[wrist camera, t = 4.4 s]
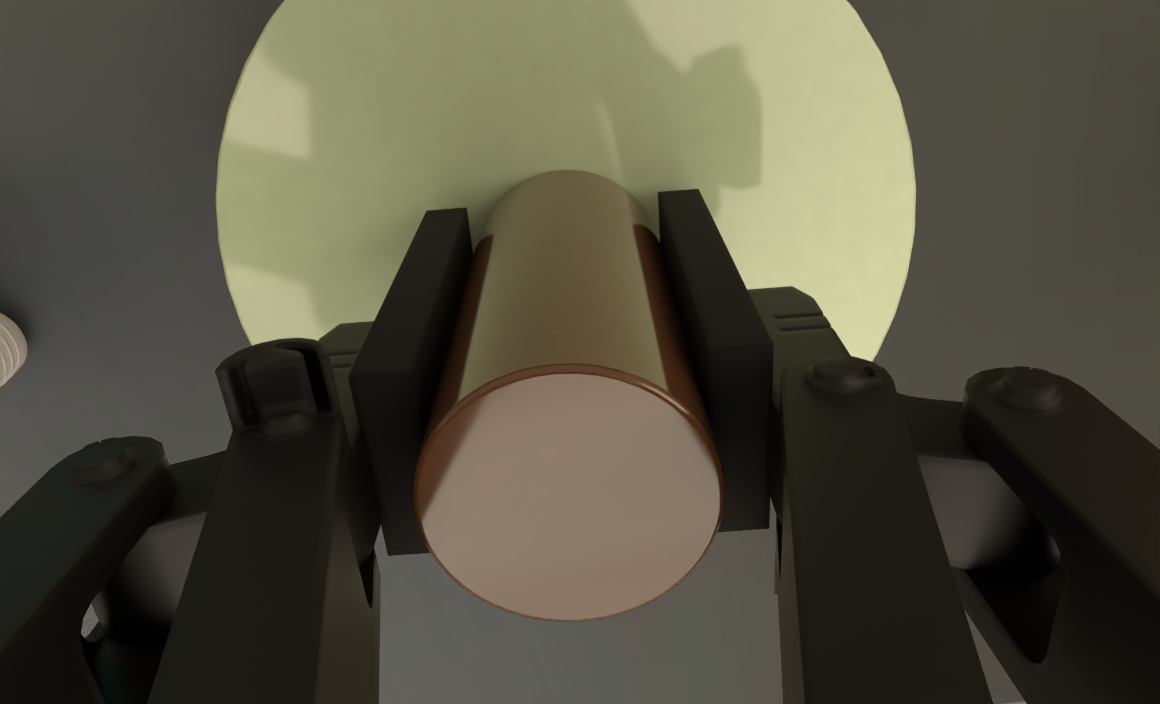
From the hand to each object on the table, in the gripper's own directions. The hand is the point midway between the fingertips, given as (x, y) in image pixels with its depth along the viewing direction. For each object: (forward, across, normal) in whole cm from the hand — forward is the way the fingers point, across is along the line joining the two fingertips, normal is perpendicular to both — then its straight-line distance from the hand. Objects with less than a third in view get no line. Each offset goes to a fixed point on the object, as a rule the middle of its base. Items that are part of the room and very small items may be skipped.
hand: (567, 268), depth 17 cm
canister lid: (+1, 0, 0) cm, 1 cm away
